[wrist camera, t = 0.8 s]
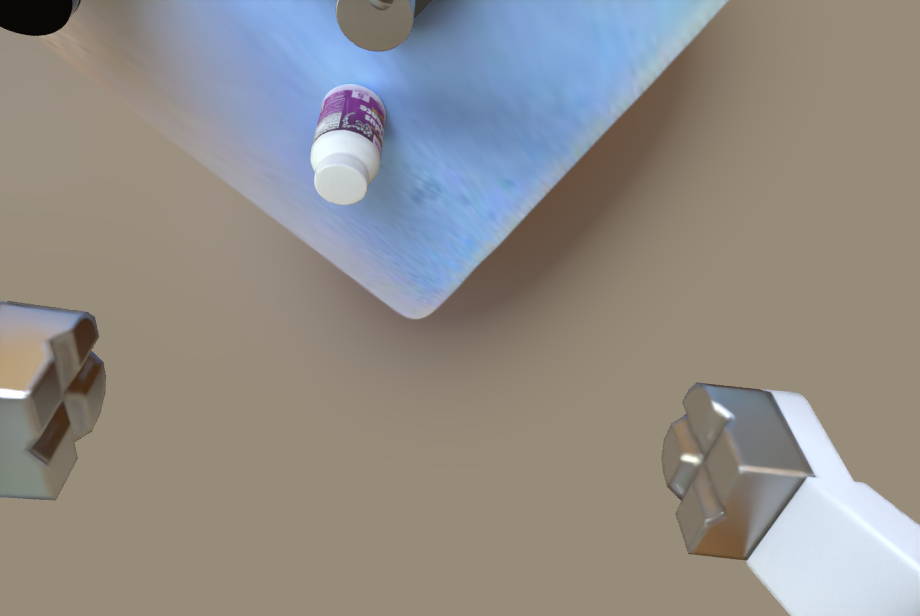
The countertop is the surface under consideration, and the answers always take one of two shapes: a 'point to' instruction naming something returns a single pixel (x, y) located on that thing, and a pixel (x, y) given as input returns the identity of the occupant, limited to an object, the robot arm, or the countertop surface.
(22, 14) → the supplement container
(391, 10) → the spout
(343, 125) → the pill bottle
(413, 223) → the countertop surface
